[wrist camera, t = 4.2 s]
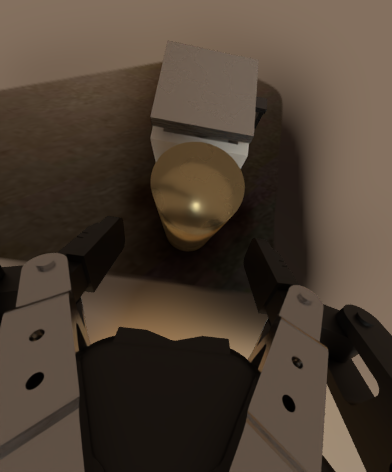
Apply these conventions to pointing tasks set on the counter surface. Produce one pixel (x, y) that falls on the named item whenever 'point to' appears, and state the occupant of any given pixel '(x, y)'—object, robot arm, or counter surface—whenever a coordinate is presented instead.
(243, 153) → the white latched box
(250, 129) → the box lid
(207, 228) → the disc
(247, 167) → the counter surface
